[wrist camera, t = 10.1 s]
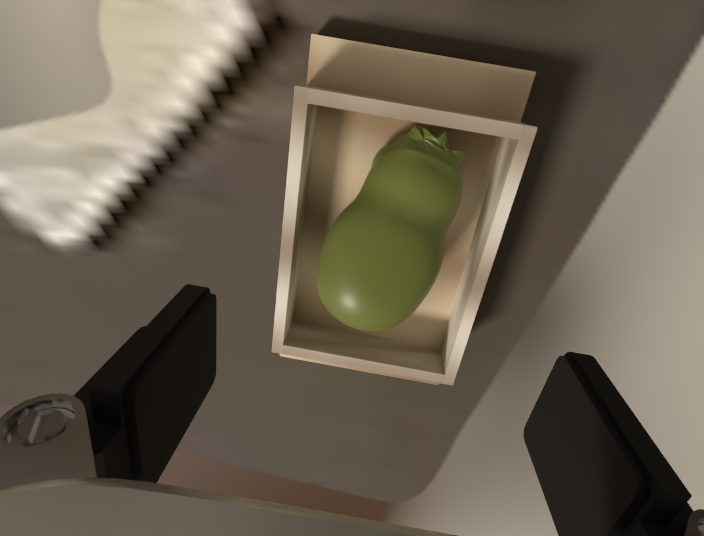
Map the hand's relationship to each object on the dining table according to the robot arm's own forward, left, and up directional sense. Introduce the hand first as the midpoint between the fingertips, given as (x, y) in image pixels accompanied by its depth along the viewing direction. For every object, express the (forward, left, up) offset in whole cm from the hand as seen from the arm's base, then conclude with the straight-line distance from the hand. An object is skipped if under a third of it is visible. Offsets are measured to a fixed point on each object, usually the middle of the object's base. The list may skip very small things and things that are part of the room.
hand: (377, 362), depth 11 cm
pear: (-1, 0, -12) cm, 12 cm away
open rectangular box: (+1, 0, -13) cm, 13 cm away
